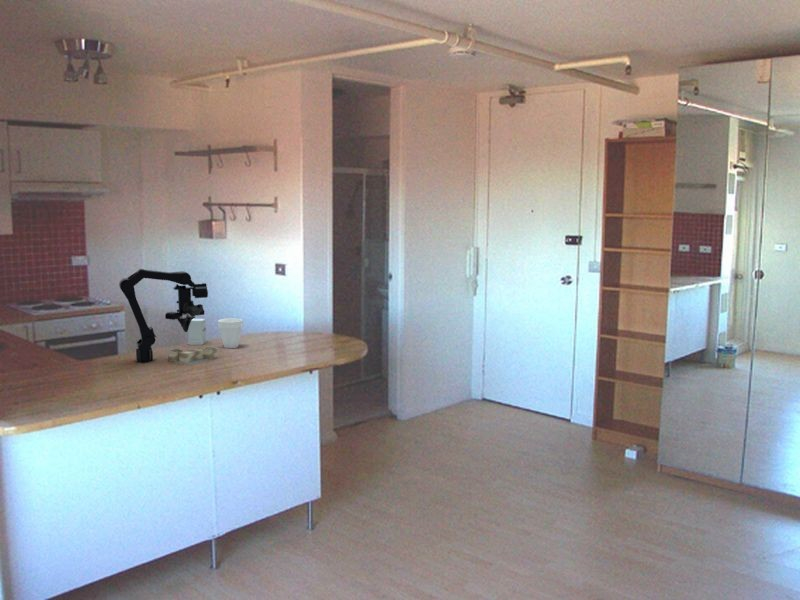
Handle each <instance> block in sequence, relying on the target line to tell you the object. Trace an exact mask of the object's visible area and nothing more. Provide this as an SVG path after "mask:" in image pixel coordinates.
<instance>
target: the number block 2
mask: <svg viewBox="0 0 800 600" xmlns="http://www.w3.org/2000/svg"><path fill="white" fill-rule="evenodd" d="M202 349H203V358H204V359H210V360H209V361H211V359H212V360H216V359H219V357H218V348H217V347H210V346H209V347H206V348H202ZM215 358H216V359H215Z"/></svg>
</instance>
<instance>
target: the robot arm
mask: <svg viewBox="0 0 800 600" xmlns="http://www.w3.org/2000/svg"><path fill="white" fill-rule="evenodd" d="M143 279H151V280H160V281H168V282H172V283H176V285H175V286H174V287H173V290H175V291H177V298H178V299H177V300H176V304H178V309H176V311H169V312H166V313H165V315H164V316H165V318H164V319H165V320H177V321H178V322H179V324H180V325H181V328H182V330H183V332H184V333H188V328H189V325H190V322H191V320H192V319H196V316H203V315H205V309H204V307H203V306H204V305H203V304H201V303H200V304H194V300H192V297H194V299H206V298H208V296H209V290H208V287H207V283H206V282H202V283H195V282H194V281H193V280H192V277H191V275H190V273H188V272H186V271H169V272H168V271H158V270H151V269H144V268H139V269H138V270H137V271H136V272H133V273H132V274H131V275H130V276H128V277H127V278H126V277H125V278H122V279H120V281H119V283H118V287H119V289H120V290H121V292H122V293H123V295H124V296H125V298H126V299H127V302H128V304H129V307H130V309H131V312H132V314H133V316H134V318H135V321H136V323H137V326H138V331H139V336H140V338H139V340H137V341H136V346H137V348H136V349H135V354H136V355H135V356H136V357H135V358H136V360H134V362H135V363H140V364H141V363H142V364H145V363H151V362H155V359H153V358H154V353H153V348H152V346H153V345H154V344H155V342H156V337H157V335H156V334H155V333H154V332H155V330H154V328H153V327H152V326H148V324H147V322H146V319H145V317H144V315H143V312H142V309H141V307H140V305H139V304H140V303H139V302H138V299H137V297H136V290H135V286H136V285H137V284H138V283H140V282H141V281H142V280H143ZM179 284H180V285H179ZM186 285H187V286H188V287H187V286H186Z"/></svg>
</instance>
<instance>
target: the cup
mask: <svg viewBox="0 0 800 600" xmlns="http://www.w3.org/2000/svg"><path fill="white" fill-rule="evenodd" d="M243 326H244V323H243V318H238V317H235V318H234V317H233V318H231V317H230V318H229V317H228V318H227V317H226V318H221V319H218V320H217V327H218V329H219V333H220V337H221V340H222V343H223V347H224V348H225V349H236V348H239V344H240V339H241V334H242V330H243Z"/></svg>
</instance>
